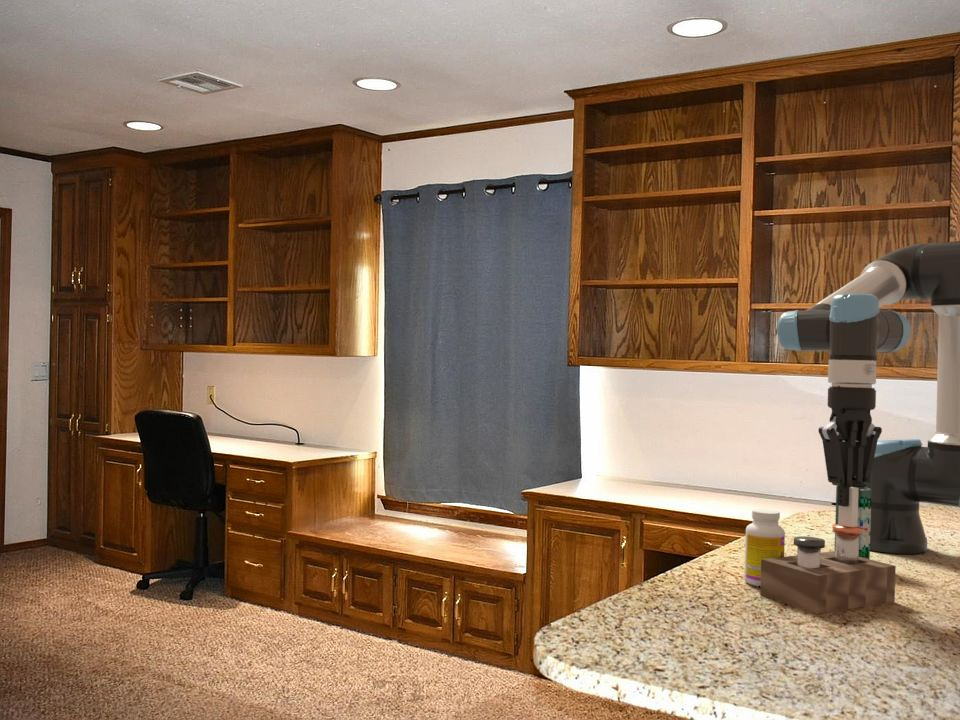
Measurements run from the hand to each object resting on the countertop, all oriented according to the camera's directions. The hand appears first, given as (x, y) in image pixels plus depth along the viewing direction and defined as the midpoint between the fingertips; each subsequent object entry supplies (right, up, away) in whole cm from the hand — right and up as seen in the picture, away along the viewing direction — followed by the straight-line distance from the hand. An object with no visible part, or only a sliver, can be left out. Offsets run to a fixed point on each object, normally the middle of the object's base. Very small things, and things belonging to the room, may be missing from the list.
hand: (847, 525), depth 152 cm
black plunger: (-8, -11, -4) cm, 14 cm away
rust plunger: (0, -9, 0) cm, 9 cm away
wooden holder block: (-4, -12, -2) cm, 13 cm away
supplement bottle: (-12, -12, +7) cm, 18 cm away
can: (+10, -12, +24) cm, 29 cm away
